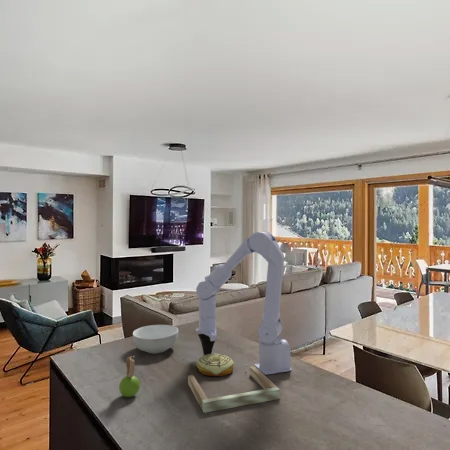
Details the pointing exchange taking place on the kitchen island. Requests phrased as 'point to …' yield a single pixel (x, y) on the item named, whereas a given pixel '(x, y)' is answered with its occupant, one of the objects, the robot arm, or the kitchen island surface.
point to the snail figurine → (129, 380)
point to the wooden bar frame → (239, 399)
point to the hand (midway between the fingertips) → (207, 355)
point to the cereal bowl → (155, 338)
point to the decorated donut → (215, 365)
